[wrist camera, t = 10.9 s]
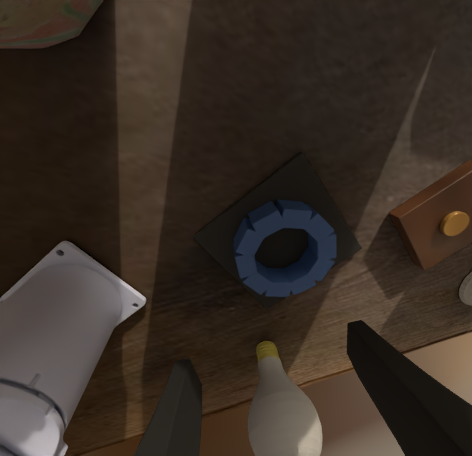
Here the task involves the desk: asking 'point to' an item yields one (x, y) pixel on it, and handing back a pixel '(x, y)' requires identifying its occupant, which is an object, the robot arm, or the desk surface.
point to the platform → (437, 218)
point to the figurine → (466, 290)
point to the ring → (297, 274)
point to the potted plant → (43, 21)
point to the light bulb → (281, 412)
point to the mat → (286, 239)
